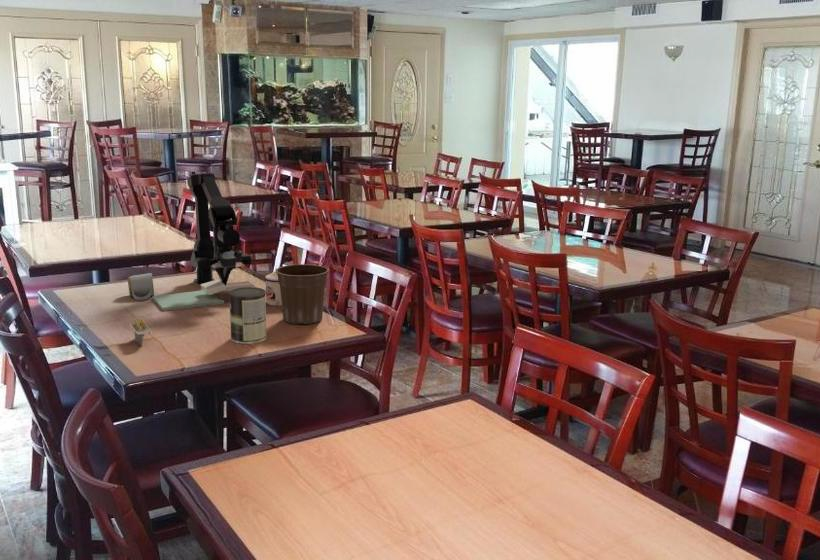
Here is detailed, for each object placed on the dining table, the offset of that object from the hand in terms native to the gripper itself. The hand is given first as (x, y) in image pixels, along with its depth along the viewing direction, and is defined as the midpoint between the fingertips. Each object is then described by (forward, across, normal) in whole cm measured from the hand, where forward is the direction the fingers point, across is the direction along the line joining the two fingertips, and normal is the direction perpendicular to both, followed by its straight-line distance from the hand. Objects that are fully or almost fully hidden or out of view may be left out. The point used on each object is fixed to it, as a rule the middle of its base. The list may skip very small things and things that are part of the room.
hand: (224, 285), depth 267 cm
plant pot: (+4, +14, -36) cm, 39 cm away
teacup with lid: (+4, +14, -16) cm, 22 cm away
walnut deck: (+4, +4, 0) cm, 5 cm away
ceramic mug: (+4, -25, +13) cm, 28 cm away
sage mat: (+4, -12, 0) cm, 13 cm away
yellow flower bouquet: (+5, -35, -37) cm, 51 cm away
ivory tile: (+1, -4, 0) cm, 4 cm away
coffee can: (+4, -7, -47) cm, 48 cm away
